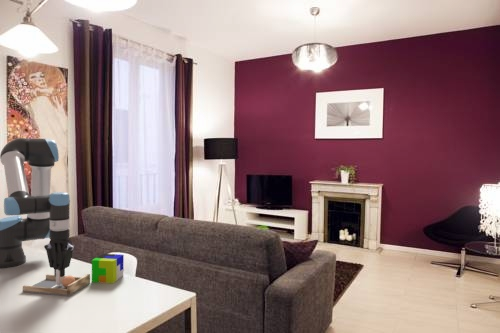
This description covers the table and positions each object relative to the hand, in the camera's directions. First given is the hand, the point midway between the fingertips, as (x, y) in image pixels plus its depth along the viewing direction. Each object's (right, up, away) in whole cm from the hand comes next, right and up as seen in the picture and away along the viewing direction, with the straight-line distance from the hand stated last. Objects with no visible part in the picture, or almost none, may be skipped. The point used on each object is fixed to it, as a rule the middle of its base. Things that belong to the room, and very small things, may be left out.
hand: (59, 283), depth 150 cm
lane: (-1, -2, 0) cm, 2 cm away
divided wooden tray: (-1, -2, 0) cm, 2 cm away
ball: (+4, +1, -1) cm, 5 cm away
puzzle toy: (+16, -2, +12) cm, 20 cm away
